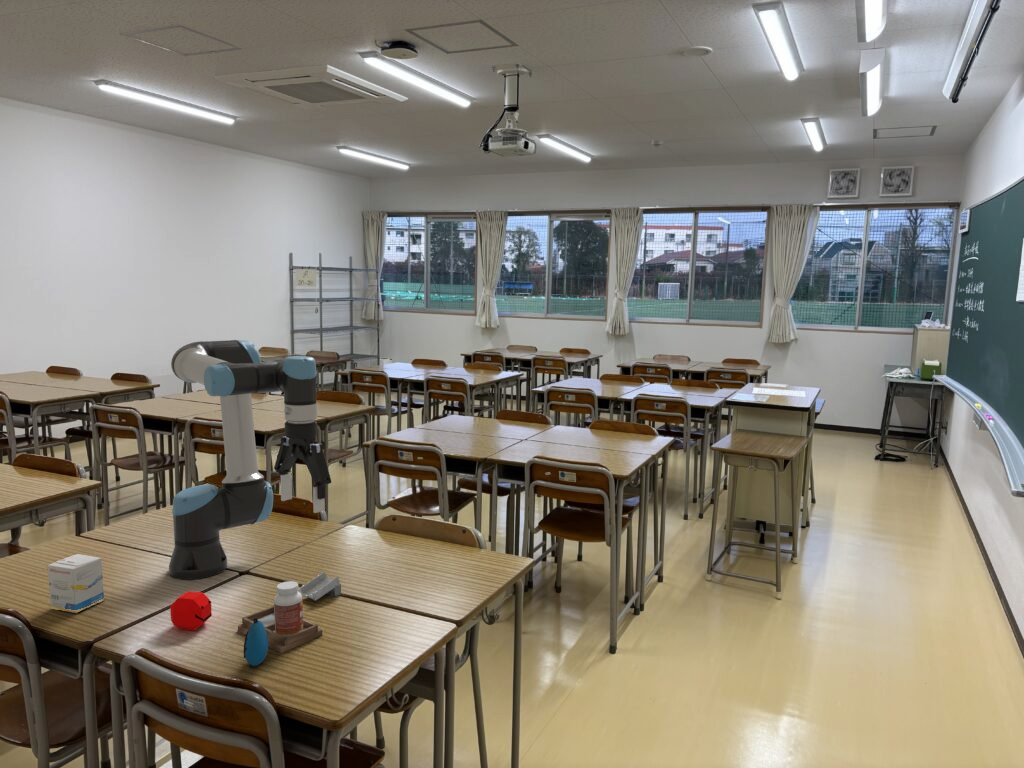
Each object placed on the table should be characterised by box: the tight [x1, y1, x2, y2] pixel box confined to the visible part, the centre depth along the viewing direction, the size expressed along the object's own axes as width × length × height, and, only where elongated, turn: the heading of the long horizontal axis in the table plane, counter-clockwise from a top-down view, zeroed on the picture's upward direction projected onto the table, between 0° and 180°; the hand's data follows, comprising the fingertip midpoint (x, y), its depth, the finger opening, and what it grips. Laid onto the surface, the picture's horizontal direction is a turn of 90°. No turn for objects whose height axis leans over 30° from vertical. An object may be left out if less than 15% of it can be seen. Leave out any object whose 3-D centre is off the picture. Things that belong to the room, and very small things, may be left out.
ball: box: [169, 591, 213, 631], centre depth 168 cm, size 8×8×8 cm
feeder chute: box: [298, 571, 342, 601], centre depth 185 cm, size 6×8×5 cm
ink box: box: [47, 553, 105, 610], centre depth 179 cm, size 9×8×12 cm
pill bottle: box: [273, 580, 304, 637], centre depth 162 cm, size 6×6×11 cm
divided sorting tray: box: [237, 605, 323, 654], centre depth 165 cm, size 17×11×3 cm, turn 52°
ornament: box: [243, 618, 269, 667], centre depth 151 cm, size 8×5×10 cm, turn 5°
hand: (302, 505), depth 176 cm, fingers open, 13 cm apart
